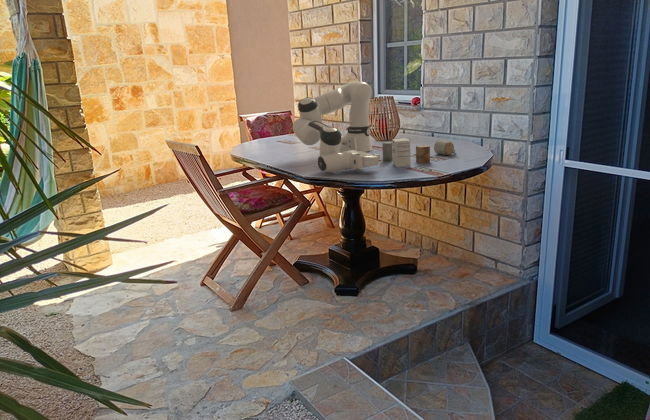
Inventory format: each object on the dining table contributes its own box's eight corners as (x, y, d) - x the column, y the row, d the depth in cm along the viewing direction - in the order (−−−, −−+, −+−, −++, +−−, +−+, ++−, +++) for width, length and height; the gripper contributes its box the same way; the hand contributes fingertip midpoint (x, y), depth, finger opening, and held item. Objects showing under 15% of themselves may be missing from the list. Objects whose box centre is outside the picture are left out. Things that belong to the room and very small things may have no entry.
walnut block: (421, 163, 247) (421, 147, 245) (416, 161, 252) (415, 146, 250) (430, 162, 249) (430, 146, 247) (424, 160, 253) (424, 144, 251)
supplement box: (392, 164, 250) (391, 139, 246) (407, 163, 250) (406, 137, 247) (395, 167, 243) (395, 141, 239) (410, 166, 243) (410, 140, 240)
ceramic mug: (445, 156, 260) (445, 141, 258) (433, 154, 266) (433, 140, 264) (459, 153, 265) (459, 139, 263) (447, 152, 272) (447, 137, 270)
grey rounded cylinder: (381, 160, 260) (380, 143, 257) (385, 159, 264) (385, 142, 261) (389, 161, 257) (389, 144, 254) (394, 159, 261) (393, 142, 258)
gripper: (344, 162, 247) (370, 158, 252) (361, 169, 229) (388, 166, 233) (343, 149, 245) (369, 146, 250) (360, 156, 227) (388, 152, 231)
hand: (378, 155), depth 241 cm, fingers closed
